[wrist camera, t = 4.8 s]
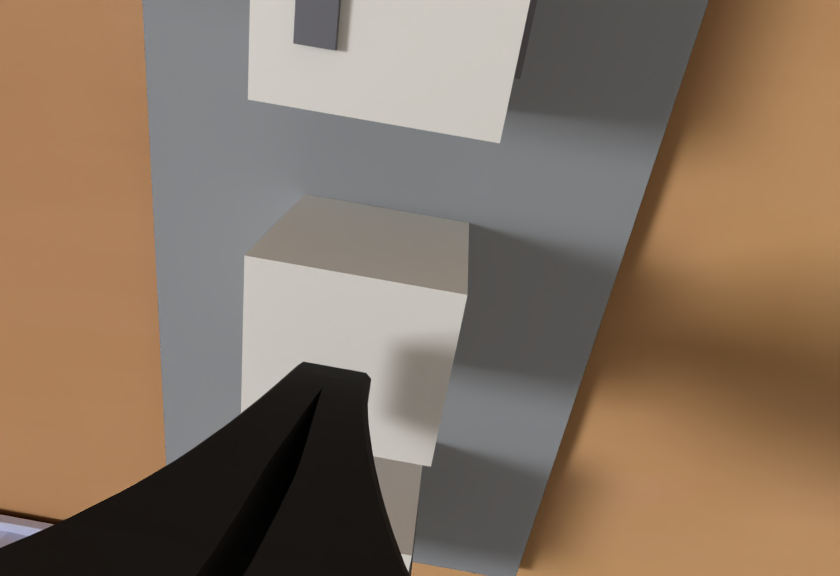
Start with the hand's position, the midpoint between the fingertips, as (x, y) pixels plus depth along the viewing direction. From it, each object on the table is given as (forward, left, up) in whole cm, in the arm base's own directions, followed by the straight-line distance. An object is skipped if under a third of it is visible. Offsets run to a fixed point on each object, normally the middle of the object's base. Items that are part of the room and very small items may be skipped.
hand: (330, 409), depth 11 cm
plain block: (0, 0, -6) cm, 6 cm away
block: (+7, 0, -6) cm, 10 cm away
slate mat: (0, 0, -6) cm, 6 cm away
